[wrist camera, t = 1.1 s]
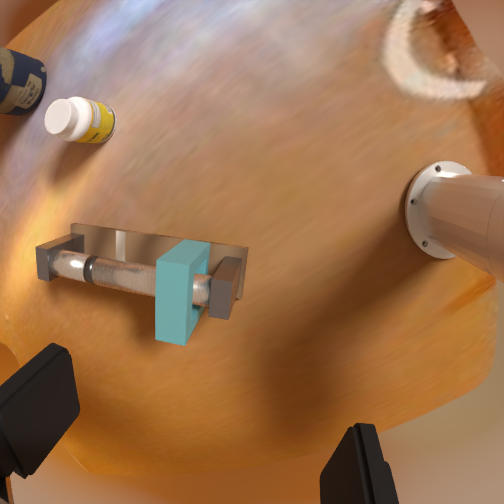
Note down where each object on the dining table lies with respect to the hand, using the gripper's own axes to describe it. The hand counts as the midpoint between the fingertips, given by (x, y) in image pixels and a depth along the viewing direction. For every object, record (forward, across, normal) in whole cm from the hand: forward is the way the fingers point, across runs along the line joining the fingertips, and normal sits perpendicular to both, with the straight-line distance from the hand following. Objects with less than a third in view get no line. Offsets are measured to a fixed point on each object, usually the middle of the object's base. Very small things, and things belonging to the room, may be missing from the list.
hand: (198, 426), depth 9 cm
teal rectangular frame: (+26, +7, +5) cm, 28 cm away
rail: (+30, +14, +6) cm, 33 cm away
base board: (+30, +14, +6) cm, 33 cm away
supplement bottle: (+30, +24, -10) cm, 40 cm away
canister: (+29, +40, -16) cm, 53 cm away
